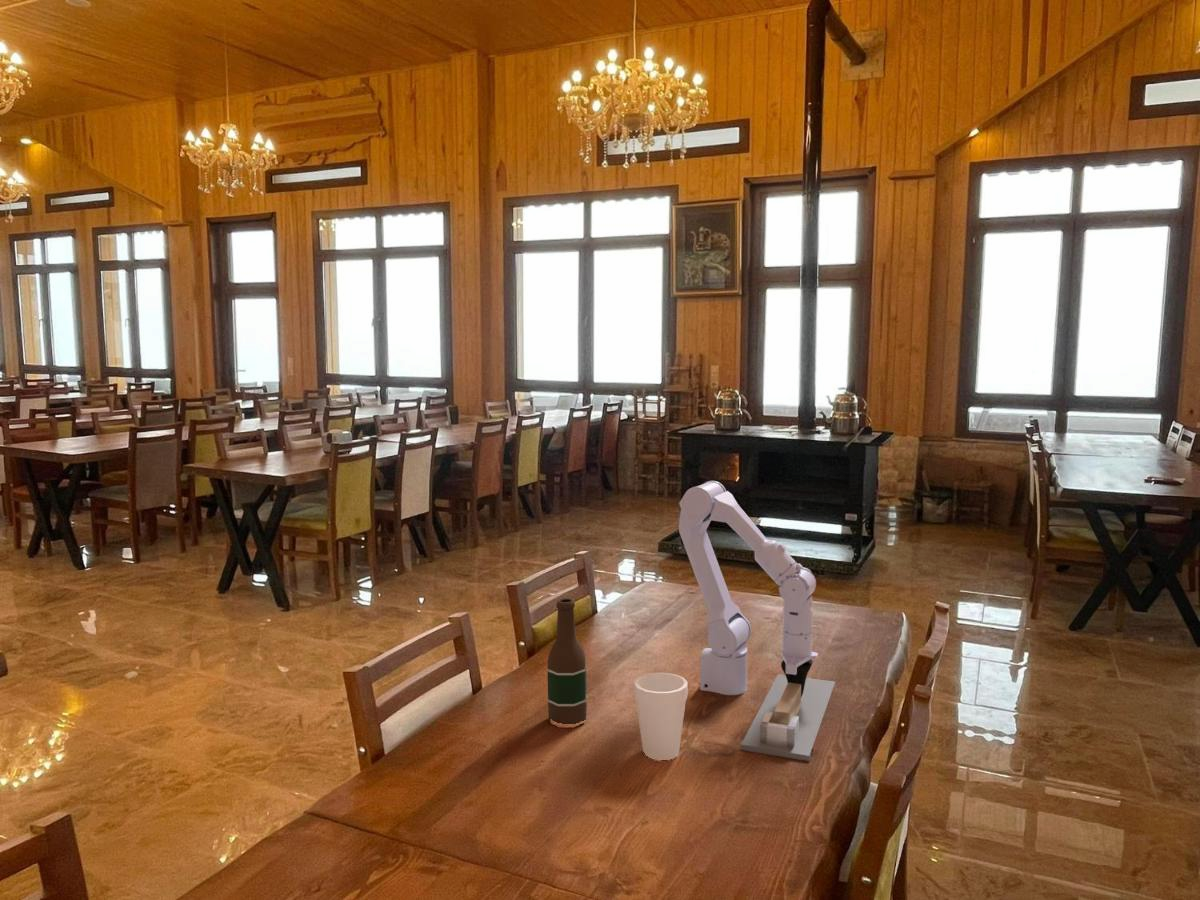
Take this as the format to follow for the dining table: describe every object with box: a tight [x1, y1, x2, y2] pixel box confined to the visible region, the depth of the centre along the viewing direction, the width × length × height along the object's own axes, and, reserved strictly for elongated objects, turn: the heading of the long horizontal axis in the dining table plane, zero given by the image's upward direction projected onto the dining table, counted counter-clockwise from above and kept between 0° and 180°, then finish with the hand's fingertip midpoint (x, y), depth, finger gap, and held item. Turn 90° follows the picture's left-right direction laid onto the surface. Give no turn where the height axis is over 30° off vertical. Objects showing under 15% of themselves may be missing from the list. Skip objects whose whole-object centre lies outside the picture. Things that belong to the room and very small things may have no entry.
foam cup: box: [633, 671, 689, 761], centre depth 151 cm, size 10×9×13 cm
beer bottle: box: [546, 598, 588, 724], centre depth 164 cm, size 8×8×24 cm
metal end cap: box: [760, 712, 799, 748], centre depth 154 cm, size 6×6×4 cm
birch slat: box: [774, 683, 801, 726], centre depth 162 cm, size 2×14×4 cm, turn 158°
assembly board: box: [740, 673, 836, 762], centre depth 166 cm, size 12×35×1 cm, turn 158°
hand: (796, 696), depth 170 cm, fingers closed
